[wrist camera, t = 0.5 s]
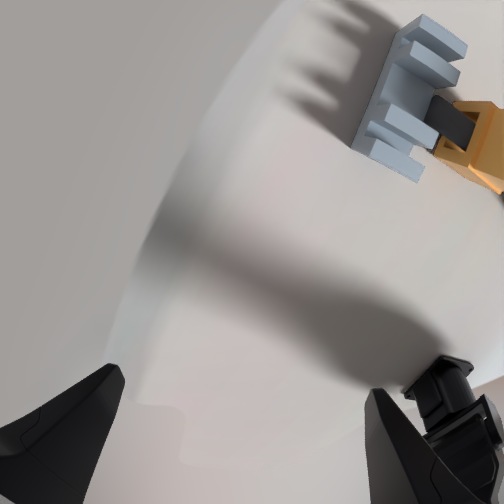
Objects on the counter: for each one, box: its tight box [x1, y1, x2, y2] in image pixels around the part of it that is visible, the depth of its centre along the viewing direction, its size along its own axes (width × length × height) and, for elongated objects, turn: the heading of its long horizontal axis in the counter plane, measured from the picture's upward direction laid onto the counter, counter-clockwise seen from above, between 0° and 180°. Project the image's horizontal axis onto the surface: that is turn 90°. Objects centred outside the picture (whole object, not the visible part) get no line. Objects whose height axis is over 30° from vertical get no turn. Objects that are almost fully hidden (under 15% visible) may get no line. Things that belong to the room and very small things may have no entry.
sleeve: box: [433, 101, 504, 195], centre depth 11 cm, size 3×4×8 cm
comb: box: [350, 14, 468, 183], centre depth 13 cm, size 3×9×4 cm, turn 160°
